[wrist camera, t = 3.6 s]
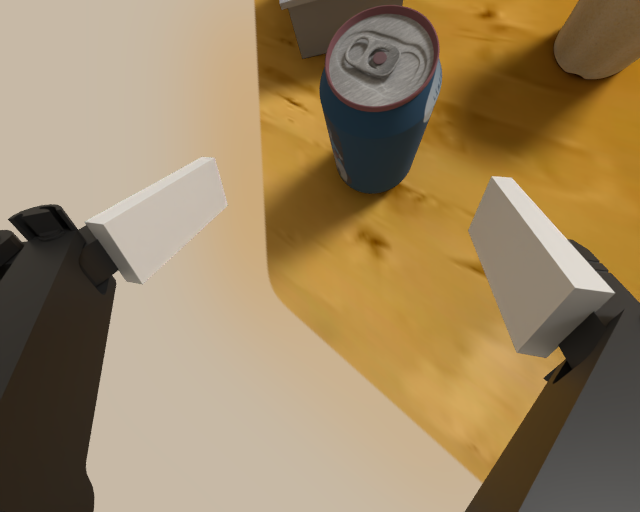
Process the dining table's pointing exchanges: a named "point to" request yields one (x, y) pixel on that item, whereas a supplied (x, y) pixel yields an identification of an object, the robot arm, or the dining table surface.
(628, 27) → the flower pot
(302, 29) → the plate
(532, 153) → the dining table surface
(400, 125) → the soda can
